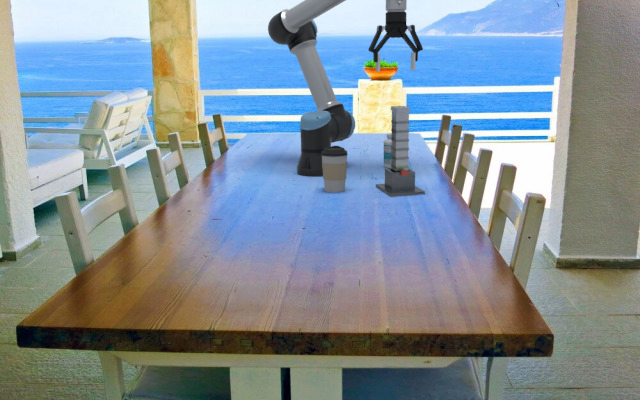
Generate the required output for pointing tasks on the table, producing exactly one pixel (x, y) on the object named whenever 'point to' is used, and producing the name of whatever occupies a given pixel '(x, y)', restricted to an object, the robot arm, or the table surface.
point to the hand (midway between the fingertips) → (395, 71)
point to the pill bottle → (388, 151)
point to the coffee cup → (334, 168)
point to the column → (400, 137)
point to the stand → (400, 183)
